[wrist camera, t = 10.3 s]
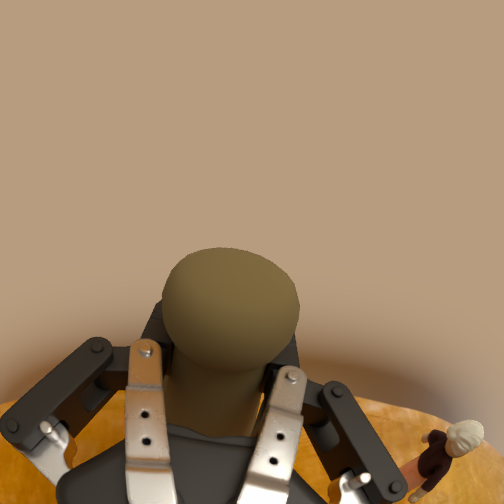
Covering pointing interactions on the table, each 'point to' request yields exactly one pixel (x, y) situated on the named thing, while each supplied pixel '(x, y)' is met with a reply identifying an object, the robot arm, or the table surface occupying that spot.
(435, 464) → the grandmother figurine
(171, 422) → the cork
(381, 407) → the table surface
